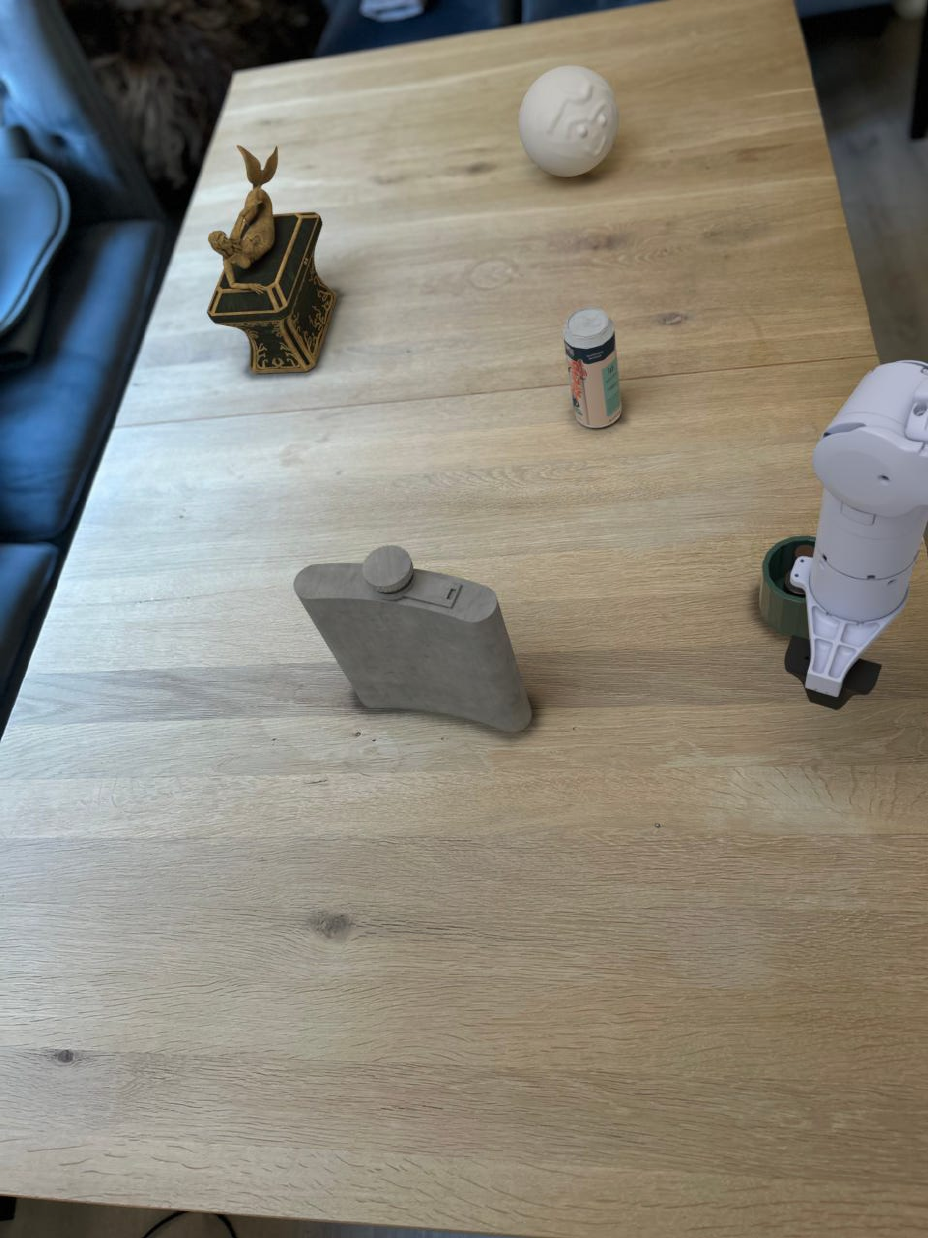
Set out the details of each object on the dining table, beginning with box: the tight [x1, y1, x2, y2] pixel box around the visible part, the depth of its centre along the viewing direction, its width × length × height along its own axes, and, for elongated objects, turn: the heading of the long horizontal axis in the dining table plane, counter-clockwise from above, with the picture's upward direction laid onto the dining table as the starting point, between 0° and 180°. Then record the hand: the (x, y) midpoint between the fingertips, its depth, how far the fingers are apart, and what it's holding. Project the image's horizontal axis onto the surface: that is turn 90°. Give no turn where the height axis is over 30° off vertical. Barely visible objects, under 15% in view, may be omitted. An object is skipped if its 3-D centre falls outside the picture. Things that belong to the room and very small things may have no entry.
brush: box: [783, 545, 814, 598], centre depth 81 cm, size 3×3×7 cm
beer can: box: [562, 306, 623, 429], centre depth 96 cm, size 5×5×12 cm
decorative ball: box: [518, 64, 620, 178], centre depth 119 cm, size 12×12×12 cm
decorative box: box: [206, 144, 338, 374], centre depth 110 cm, size 20×10×20 cm, turn 171°
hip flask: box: [292, 544, 533, 734], centre depth 78 cm, size 16×4×20 cm, turn 73°
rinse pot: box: [758, 535, 816, 639], centre depth 82 cm, size 7×7×6 cm
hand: (840, 656), depth 70 cm, fingers open, 7 cm apart
